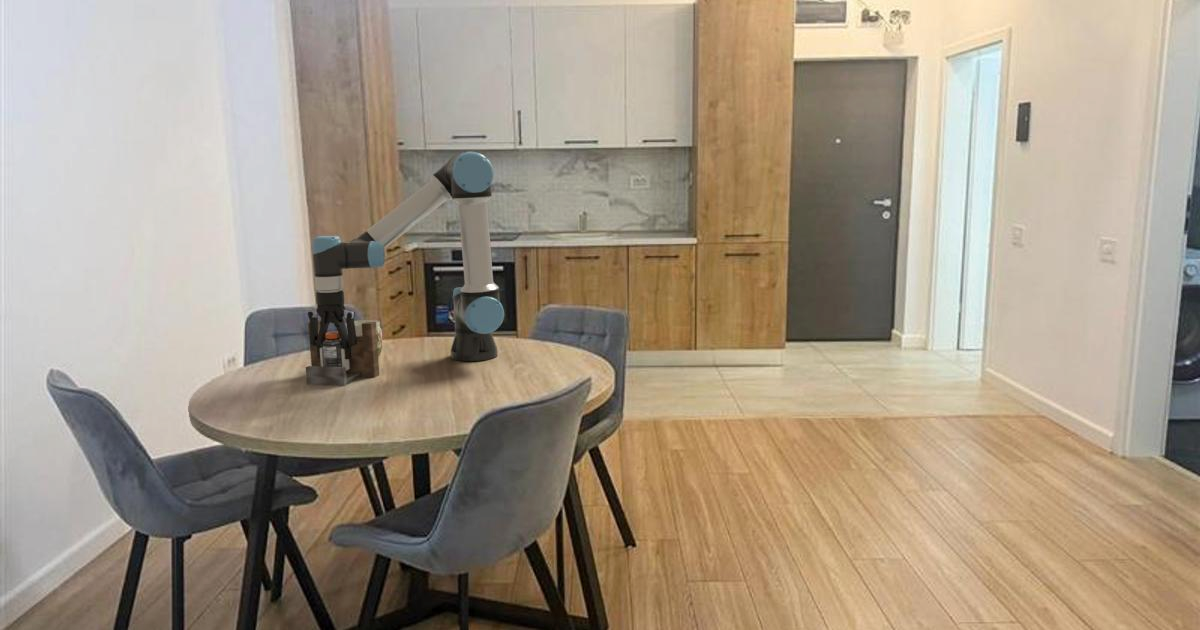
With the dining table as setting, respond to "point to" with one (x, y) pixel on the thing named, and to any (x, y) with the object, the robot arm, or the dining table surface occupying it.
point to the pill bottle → (332, 350)
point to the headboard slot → (359, 363)
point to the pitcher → (379, 333)
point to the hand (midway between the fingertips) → (335, 369)
